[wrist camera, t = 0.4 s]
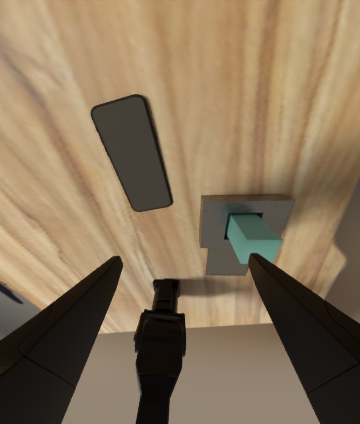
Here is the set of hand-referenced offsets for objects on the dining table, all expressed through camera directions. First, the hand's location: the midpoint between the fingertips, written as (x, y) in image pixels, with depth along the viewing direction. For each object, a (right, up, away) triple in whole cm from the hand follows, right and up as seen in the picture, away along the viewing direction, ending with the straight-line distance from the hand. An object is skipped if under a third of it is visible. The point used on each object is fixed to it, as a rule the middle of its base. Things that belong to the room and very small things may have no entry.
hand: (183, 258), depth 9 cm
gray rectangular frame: (+10, +2, +14) cm, 17 cm away
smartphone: (-6, +10, +10) cm, 16 cm away
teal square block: (+10, +2, +14) cm, 17 cm away
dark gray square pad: (+10, -7, +19) cm, 22 cm away
